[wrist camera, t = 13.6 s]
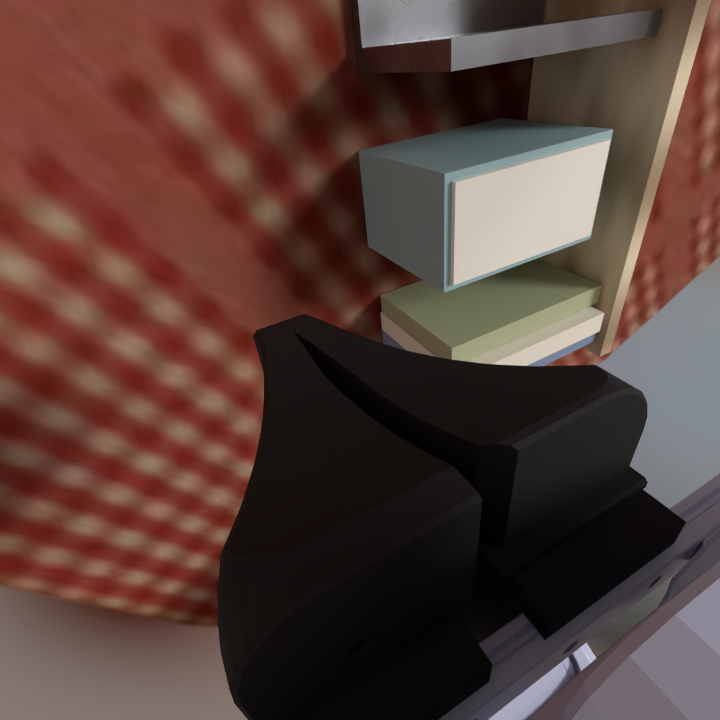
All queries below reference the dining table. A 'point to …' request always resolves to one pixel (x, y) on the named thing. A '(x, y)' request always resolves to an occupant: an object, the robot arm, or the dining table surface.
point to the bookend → (478, 33)
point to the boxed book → (482, 196)
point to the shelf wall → (618, 131)
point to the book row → (496, 317)
